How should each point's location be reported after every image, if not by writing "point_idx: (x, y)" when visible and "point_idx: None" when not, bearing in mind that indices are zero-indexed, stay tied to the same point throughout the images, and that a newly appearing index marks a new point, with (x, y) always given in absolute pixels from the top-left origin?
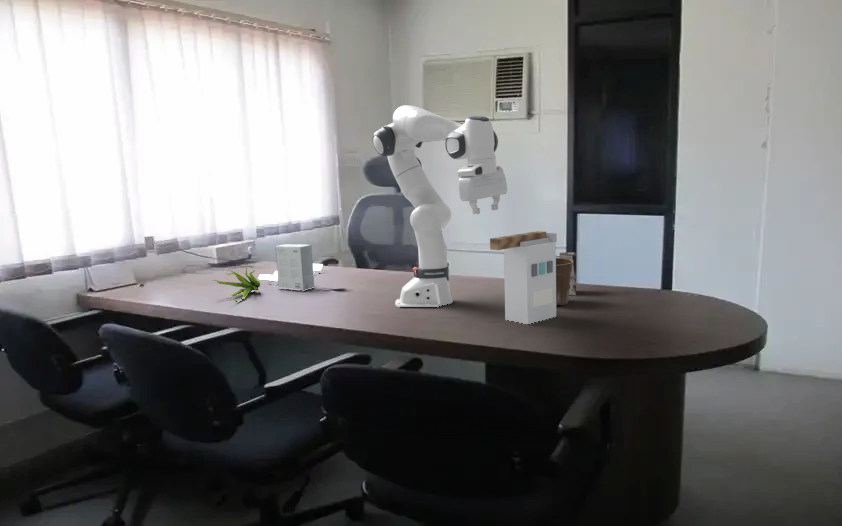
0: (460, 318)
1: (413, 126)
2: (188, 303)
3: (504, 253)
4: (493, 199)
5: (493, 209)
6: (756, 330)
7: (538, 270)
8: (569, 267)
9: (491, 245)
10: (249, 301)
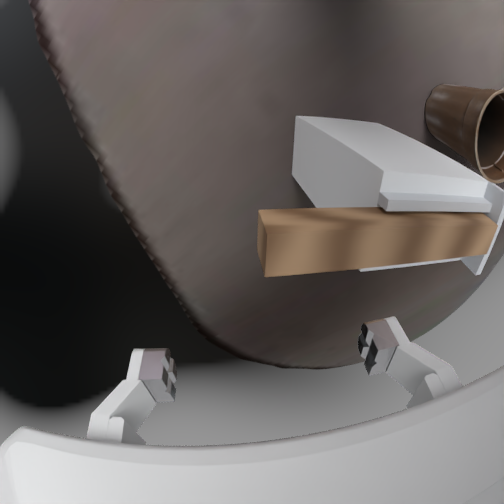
0: (244, 29)
1: None
2: None
3: (367, 162)
4: (431, 368)
5: (364, 334)
6: None
7: None
8: (491, 176)
9: (261, 225)
10: None
